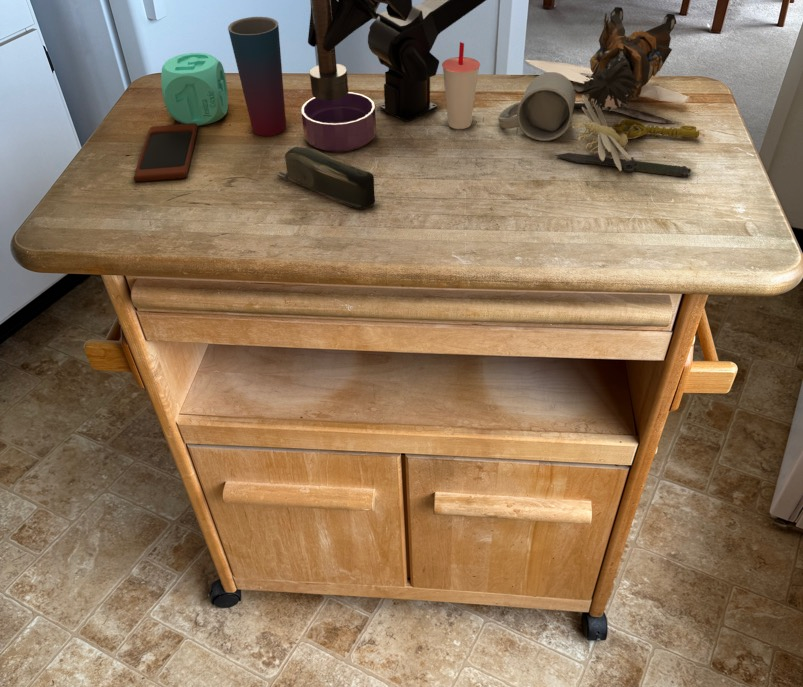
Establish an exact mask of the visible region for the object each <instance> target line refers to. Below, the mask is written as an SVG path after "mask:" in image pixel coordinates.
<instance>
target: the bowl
mask: <svg viewBox="0 0 803 687" xmlns="http://www.w3.org/2000/svg"><path fill="white" fill-rule="evenodd" d="M300 112H301V121H302V129H303V136H304V139H305V141H306V142H307V143H308V144H309V145H311V146H312V147H315V148H317V149H319V150H321V151H326V152H333V153H334V152H335V153H341V152H349V151H354V150H357V149H359V148H360V149H361V148H362V147H364V146H366V145H367V144H369V143H370V142H372V140H374V139H375V137H376V134H377V118H376V117H377V116H376V105H375V102H374V101H373V100H372V99H371V98H370V97H369V96H367V95H365V94H362V93H358V92H352V91H348V94H347V95H346V96H344V97H342V98H340V99H336V100H320V99H317V98H315V97H314V96H313V97H311V98H310V99H308V100H307V101H306V102H304V103H303V105H302V106H301V111H300Z"/></svg>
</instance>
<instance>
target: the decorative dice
mask: <svg viewBox="0 0 803 687" xmlns="http://www.w3.org/2000/svg"><path fill="white" fill-rule="evenodd" d="M160 73H161V75H160V84H161V92H162V98H163V102H164V106H165V109H166V111H167V113H168V115H169V116H170V117H171V118H173V119H174V120H175V121H177V122H178V123H180V124H191V123H195V124H197V126H198V127H199V126H206V125H210V124H213V123H216V122H218V121H220V120H222V119H223V118H224V117H225V116H226V114H227V113H228V109H229V107H228V106H229V93H228V92H229V91H228V83H227V78H226V72H225V68H224V66H223V64H222V62H221V60H219V59H217V57H215V56H214V55H212V54H209V53H205V52H190V53H189V52H188V53H183V54H178V55H175V56H173V57H171V58H169V59H168V60H166V61H165V62H164V63H163V65H162V68H161V72H160Z"/></svg>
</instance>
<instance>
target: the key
mask: <svg viewBox="0 0 803 687" xmlns="http://www.w3.org/2000/svg"><path fill="white" fill-rule="evenodd" d="M635 124H636V125H635ZM634 125H635V126H634ZM633 126H634V127H633ZM636 126H637V127H638V128H637V127H636ZM628 127H629V128H628ZM631 127H633V128H631ZM611 128H613V129H614V130H615V131H616V132H617V134H618V135H620V134H622V133H623V134H626V135H627V138H629V140H630V138H631V139H637V138H640V137H643V136H645V135H646V136H648V135H650V136H657V135H661V137H665V136H668V137H669V138H670V137H672V138H679V137H688V138H695V139H697V140H698V138H700V130H699V129H697V126H694V125H680V127H678V128H676V127H674V128H673V127H671V126H670V127H669V128H667V126H662V127H659V126H657V125H656V126H654V125H647V126H646V125H645V124H644V123H642V122H641V121H639V120H636V119H632V118H623V119H621V120H620V121H619V123H614V124H612V126H611ZM630 128H631V129H630ZM639 129H640V130H639ZM627 130H628V131H629V132H628V131H627ZM640 132H641V133H640ZM627 133H628V134H627ZM639 134H640V135H639ZM635 137H636V138H635Z"/></svg>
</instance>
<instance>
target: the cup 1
mask: <svg viewBox="0 0 803 687" xmlns="http://www.w3.org/2000/svg"><path fill="white" fill-rule="evenodd" d="M227 31H228V34H229V39H230V43H231V46H232V50H233V55H234V59H235V64H236V68H237V71H238V76H239V80H240V84H241V88H242V92H243V96H244V101H245V105H246V110H247V113H248V117H249V121H250V125H251V130H252V133H254V134H256V135H257V136H262V137H271V136H276V135H279V134H281V133H283V132H284V131H285V130H286V129H287V119H286V118H287V117H286V105H285V93H284V92H285V91H284V79H283V68H282V67H283V66H282V65H283V64H282V55H281V53H282V52H281V41H280V40H281V39H280V29H279V22H278V21H277V19H274V18H272V17H268V16H248V17H243V18H240V19H236V20H234V21H233V22H231V23H229V25H228V26H227Z"/></svg>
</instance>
